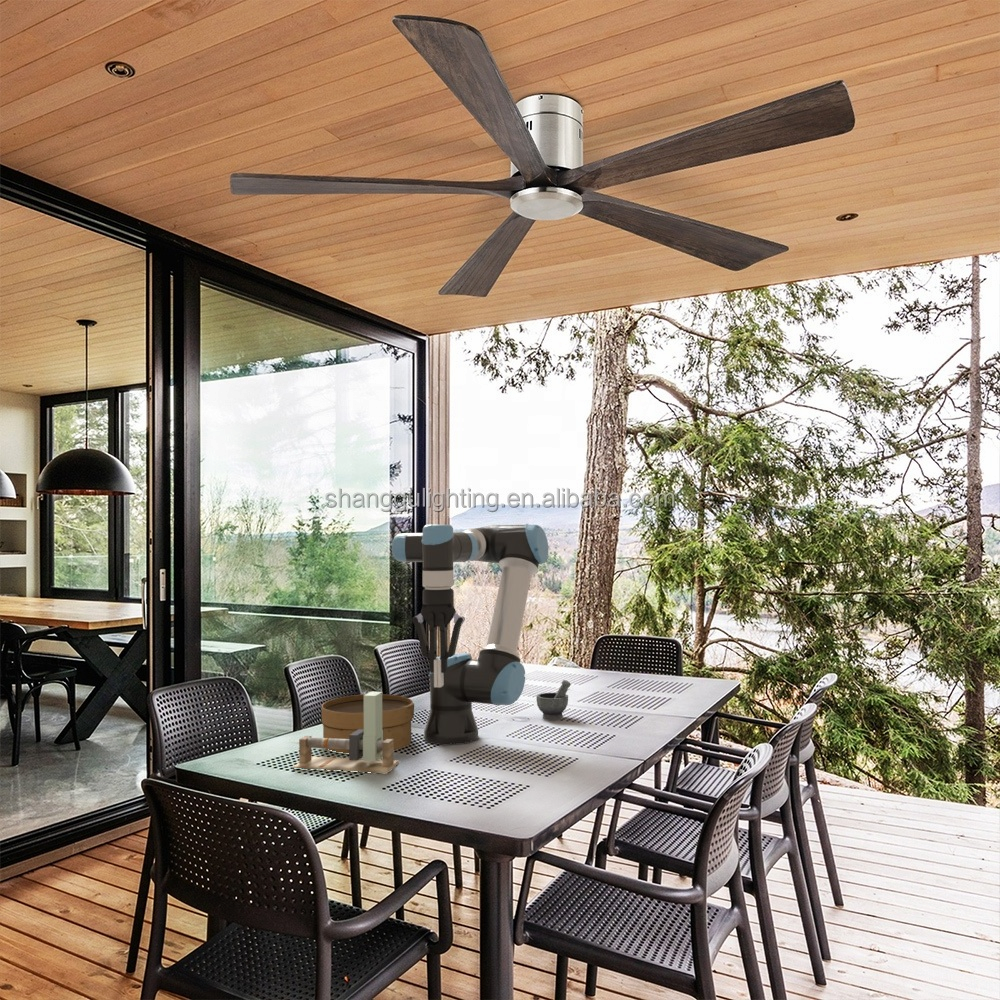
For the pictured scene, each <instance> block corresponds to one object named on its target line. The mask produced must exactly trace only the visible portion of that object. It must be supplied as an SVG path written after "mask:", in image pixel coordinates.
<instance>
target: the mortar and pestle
mask: <svg viewBox="0 0 1000 1000" xmlns="http://www.w3.org/2000/svg"><path fill="white" fill-rule="evenodd" d="M571 685H572V684H571V682H570V681H568V680H566V679H563V680H562V682H561V685H560V687H559V688H558V690H557V692H542V693H538V694H537V695H536V706H537V707H538V709H539V710H540V712H541V713H542V719H543V720H545V721H559V720H560V721H561V720H562V719H564V718H563V717H564V716H563V712H564V711H565V710H566V708H567V706H568V704H569V703H568V702H569V695H568V694H567V692H568V690H569V688H570V687H571Z"/></svg>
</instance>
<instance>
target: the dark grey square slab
mask: <svg viewBox="0 0 1000 1000" xmlns="http://www.w3.org/2000/svg"><path fill="white" fill-rule="evenodd" d="M363 735H364V729H358V730H356V731H355V732H353V733H352V734H350V735H349V754H348V758H349V760H358V759H362V758H363V750H359V740H363Z"/></svg>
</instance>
